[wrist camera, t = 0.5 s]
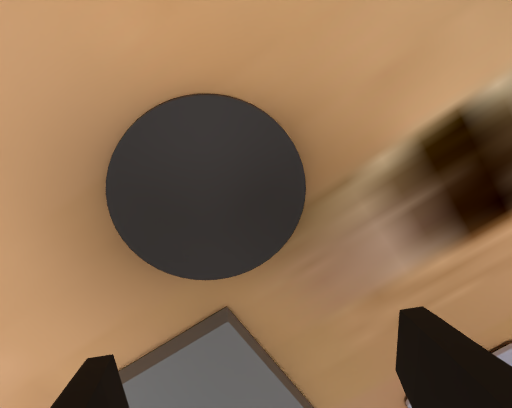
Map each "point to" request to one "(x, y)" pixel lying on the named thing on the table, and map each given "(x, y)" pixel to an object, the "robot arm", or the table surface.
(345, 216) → the table surface
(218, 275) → the coaster
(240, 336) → the post base
